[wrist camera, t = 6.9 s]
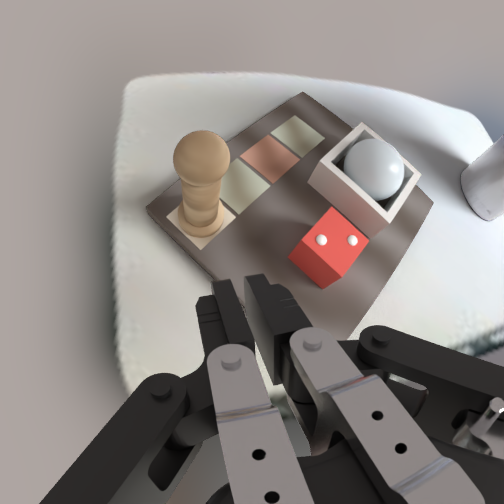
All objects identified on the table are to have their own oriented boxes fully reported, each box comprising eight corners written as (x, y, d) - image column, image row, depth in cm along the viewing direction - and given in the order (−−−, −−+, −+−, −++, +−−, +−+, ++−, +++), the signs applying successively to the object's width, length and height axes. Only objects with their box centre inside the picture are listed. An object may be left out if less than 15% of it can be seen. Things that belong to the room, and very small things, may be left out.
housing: (348, 142, 35) (361, 121, 31) (403, 191, 34) (421, 174, 30) (307, 182, 32) (319, 160, 28) (370, 239, 31) (389, 223, 27)
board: (299, 99, 38) (302, 91, 37) (427, 207, 36) (434, 202, 34) (148, 214, 30) (145, 206, 28) (316, 371, 27) (322, 371, 26)
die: (315, 226, 30) (332, 205, 26) (348, 257, 30) (369, 240, 26) (287, 257, 29) (301, 239, 25) (322, 289, 28) (342, 276, 24)
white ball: (352, 152, 34) (376, 117, 28) (394, 188, 33) (423, 158, 27) (323, 181, 32) (346, 145, 26) (369, 222, 31) (401, 193, 25)
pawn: (201, 188, 30) (204, 107, 19) (233, 217, 29) (249, 142, 19) (169, 216, 28) (154, 141, 18) (200, 247, 28) (200, 180, 17)
